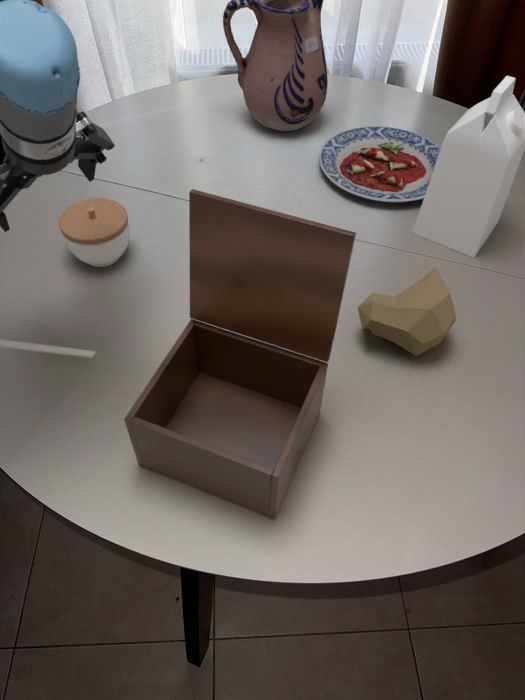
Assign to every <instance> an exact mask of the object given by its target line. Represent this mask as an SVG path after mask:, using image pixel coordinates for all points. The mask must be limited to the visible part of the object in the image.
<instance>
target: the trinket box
mask: <svg viewBox="0 0 525 700" xmlns="http://www.w3.org/2000/svg"><path fill="white" fill-rule="evenodd" d="M129 225H130V224H129V216H128V212H127V210H126V208H125V207H124V206H123V205H122V204H121V203H119V202H117V200H116V201H115V200H113V199H110V198H103V197H92V198H86V199H82V200H80V201H77V202H74V203H72V204H71V205H69V206H68V207H67V208H65V210H63V212H62V213H61V214H60V217H59V220H58V227H59V229H60V233H61V234H62V237H63V240H64V242H65V244H66V246H67V247H68V249H69V250H70V252H71V253H72V255H74V257H75V258H76V259H78V260H79V261H81V262H83V263H85V264H87V265H89V266H91V267H96V268H104V267H108V266H111V265H113V264H114V263H116V262H118V261H119V259H120V258H121V257H122V256H123V255H124V253H125V252H126V250H127V248H128V246H129V241H130V226H129Z"/></svg>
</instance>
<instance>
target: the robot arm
mask: <svg viewBox="0 0 525 700" xmlns="http://www.w3.org/2000/svg"><path fill="white" fill-rule="evenodd" d="M80 71H81V68H80V66H79V59H78V48H77V44H76V40H75V37H74V34H73V33H72V31H71V29H70V27H69V26H68V24H67V23H66V22H65V20H64V19H63V18H62V17H61V16H60V15H59V14H58V13H56V11H54V10H52V9H50V8H47V7H45V6H43V5H41V4H40V3H38V2H36V1H35V0H0V137H1V144H2V147H3V151H4V153H5V156H4V158H3V160H2V163H3V164H1V165H0V227H1V229H2V231H4V233H6V232H8V231H10V230H11V228H10V225H9V221H8V218H7V215H6V213H5V212H4V210H6V208H7V207H8V206H9V205H10V204H11V202H12V201H13V200H14V199H15V198H16V196H18V194H19V193H20V192H21V191H22V190H24V189H29V188H30V187H31V186H32V185H33V183H34V182H35V181H36V180H37V179H38V178H41V177H42V176H47V175H53V174H56V173H58V172H61V171H62V170H64V169H65V168H66V167H67V166H68V165H69V164H72V163H73V162H74V161H75V160H77V167H78V168H79V170H80V171H81V172H82V174H83V175H84V177H85V179H86V180H87V181H88V182H89V183H91V182H92V181H94V180H95V175H96V168H97V167H96V166H97V165H98V164H100V165H101V164H103V163H105V162H106V161H107V156H106V155H105V154H104V152H103V151H104V150H106V151H111V150H113V149H114V148H115V147H116V144H115V143H114V141H113V140H112V139H111V137H110V136H109V135H108V133H107V132H106V130H105V129H104V128H102V127H101V126H100V125H98V124H95V123H94V122H93V121H92V120H91V119H90V117H89V116H88V114H87V113H86V112H85V111H84V110H83V111H79V112H78V113H77V105H78V104H77V103H78V90H79V88H80V81H81V72H80Z"/></svg>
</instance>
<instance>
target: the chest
mask: <svg viewBox="0 0 525 700" xmlns="http://www.w3.org/2000/svg"><path fill="white" fill-rule="evenodd" d="M328 366H329V362H325V361H322V360H318V359H315V358H312V357H309V356H306V355H303V354H300V353H297V352H294V351H291V350H288V349H285V348H281V347H278V346H275V345H272V344H269V343H266V342H263V341H260V340H257V339H254V338H251V337H248V336H244V335H241V334H238V333H235V332H232V331H229V330H226V329H223V328H220V327H217V326H214V325H211V324H207V323H204V322H201V321H198V320H195V319H192V318H190V320H189V321H188V323H187V324H186V326H185V327H184V329H183V330H182V332H181V333H180V335H179V336H178V338H177V340H176V341H175V342H174V344H173V346H172V347H171V348H170V349H169V351H168V353H167V354H166V356H165V358H163V360H162V362H161V363H160V364H159V366H158V367H157V369H156V371H155V372H154V374H153V375H152V376H151V378H150V380H149V381H148V383H147V384H146V386H145V387H144V389H143V390H142V392H141V393H140V395H139V396H138V398H137V399H136V401H135V402H134V404H133V405H132V407H131V408H130V410H129V411H128V412H127V414H126V415H125V416H124V419H123V420H124V423H125V427H126V429H127V433H128V436H129V439H130V444H131V446H132V449H133V452H134V455H135V458H136V461H137V465H138V466H139V467H142V468H145V469H146V470H149V471H152V472H155V473H156V474H159V473H160V475H162V476H165V477H167V478H169V479H172V480H174V481H176V482H179V483H182V484H184V485H186V486H188V487H192V488H194V489H197V490H199V491H202V492H203V493H204V492H205V493H207V494H209V495H211V496H214V497H216V498H219V499H222V500H224V501H226V502H228V503H232V504H234V505H236V506H239V507H242V508H244V509H247V510H248V511H252V512H254V513H257V514H259V515H262V516H264V517H267V518H268V519H269V518H270V519H272V520H274V521H275V520H276V519H277V517H278V514H279V512H280V510H281V507H282V505H283V502H284V500H285V498H286V496H287V493H288V490H289V488H290V486H291V483H292V481H293V478H294V476H295V475H296V471H297V470H298V466H299V464H300V461H301V459H302V457H303V454H304V453H305V449H306V447H307V445H308V442H309V440H310V437H311V435H312V433H313V430H314V428H315V426H316V423H317V420H318V418H319V416H320V414H321V410H322V403H323V397H324V392H325V385H326V379H327V373H328Z"/></svg>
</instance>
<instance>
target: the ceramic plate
mask: <svg viewBox="0 0 525 700" xmlns="http://www.w3.org/2000/svg"><path fill="white" fill-rule="evenodd" d="M440 149H441V146H439V145H438V144H436V143H435V142H434V141H432V140H430V139H429V138H427V137H425V136H423V135H420V134H418V133H416V132H412V131H409V130H405V129H401V128H398V127H391V126H362V127H356V128H352V129H347V130H344V131H342V132H340V133H338V134H336V135H334V136H332V137H330V138H329V139H328V140H327V141H326V142H325V143H324V144H323V145H322V147H321V150H320V152H319V165H320V168H321V171H322V172H323V173H324V175H325V176H326V178H327V179H329V181H330V182H331V183H333V184H334V185H335V186H336V187H338V188H340V189H342V190H343V191H346V192H347V193H348V194H349V193H350V194H352V195H355V196H357V197H359V198H364V199H367V200H370V201H376V202H383V203H407V202H414V201H419V200H424V197H425V194H426V191H427V188H428V185H429V182H430V179H431V176H432V173H433V170H434V167H435V164H436V161H437V158H438V155H439V152H440Z"/></svg>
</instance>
